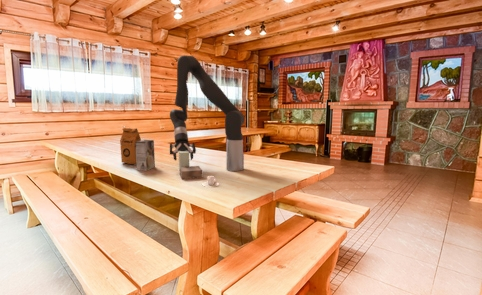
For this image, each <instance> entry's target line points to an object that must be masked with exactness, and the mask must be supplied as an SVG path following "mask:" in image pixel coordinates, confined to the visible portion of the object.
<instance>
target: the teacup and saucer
mask: <svg viewBox="0 0 482 295" xmlns="http://www.w3.org/2000/svg"><path fill="white" fill-rule="evenodd" d="M206 179H207V181H205V182H202V183H201V185H202V186H204V187H207V188H210V187H211V188H212V187H218V186H219V185H220V183H219V182H218V181H217V179H216V178H215V176H214V175H208V176H207V177H206ZM206 184H207V185H206ZM214 184H216V185H214Z"/></svg>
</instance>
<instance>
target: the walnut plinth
mask: <svg viewBox="0 0 482 295" xmlns="http://www.w3.org/2000/svg"><path fill="white" fill-rule="evenodd" d="M179 175H180V178H181V180H192V179H193V180H195V179H203V169H202V168H201V167H200V166H199V165H191V166H190V165H189V167H180V171H179Z"/></svg>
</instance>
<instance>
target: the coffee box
mask: <svg viewBox="0 0 482 295" xmlns="http://www.w3.org/2000/svg"><path fill="white" fill-rule="evenodd" d="M135 146H136V163H137V165H136V171H144V172H145V171H149V170H151V169H153V168H155V167H156V160H155V139H143V140H142V139H141V141H137V142H135Z"/></svg>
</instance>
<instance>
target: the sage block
mask: <svg viewBox="0 0 482 295" xmlns="http://www.w3.org/2000/svg"><path fill="white" fill-rule="evenodd" d="M180 167H190V153H189V152H188V151H178V169H179V171H178V172H180Z"/></svg>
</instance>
